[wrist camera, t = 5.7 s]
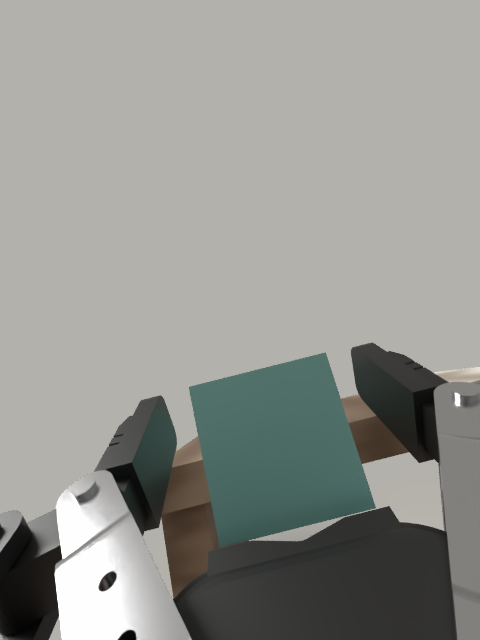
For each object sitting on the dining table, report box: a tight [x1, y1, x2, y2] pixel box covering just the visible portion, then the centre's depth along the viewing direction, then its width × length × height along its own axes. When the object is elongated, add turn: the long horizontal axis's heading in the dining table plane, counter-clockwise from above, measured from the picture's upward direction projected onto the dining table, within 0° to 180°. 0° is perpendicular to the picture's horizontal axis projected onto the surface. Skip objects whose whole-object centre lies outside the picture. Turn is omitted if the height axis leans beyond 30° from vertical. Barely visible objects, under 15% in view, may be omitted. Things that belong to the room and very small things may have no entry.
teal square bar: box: [189, 353, 376, 547], centre depth 18 cm, size 3×26×3 cm, turn 177°
